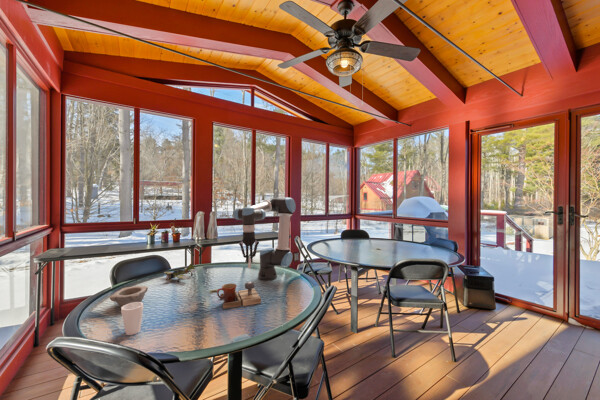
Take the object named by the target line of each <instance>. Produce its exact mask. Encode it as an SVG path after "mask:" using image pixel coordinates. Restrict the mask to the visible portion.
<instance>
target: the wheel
mask: <svg viewBox="0 0 600 400" xmlns="http://www.w3.org/2000/svg"><path fill="white" fill-rule="evenodd" d="M244 288H245V289H244V290H248V289H255V282H254V281H247V282H245V283H244Z"/></svg>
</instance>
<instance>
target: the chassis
mask: <svg viewBox="0 0 600 400" xmlns="http://www.w3.org/2000/svg"><path fill="white" fill-rule="evenodd" d="M235 293H236V300H235V302H228V303H224V302H223V303H222V308H223V310H225V309H232V308H237V307H238V308H239V307H242V306H243V307H245V306H250V305H251V306H253V305H257V304H261V303H262V300H261V299H262V298H261V296H260V295H259V293H258V292H257V290H256V289H255V288H253V289H242V290H238V291H237V290H235ZM219 296H223V293H219ZM219 299H221V300H223V299H222V298H219Z"/></svg>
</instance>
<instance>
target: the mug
mask: <svg viewBox="0 0 600 400" xmlns="http://www.w3.org/2000/svg"><path fill="white" fill-rule="evenodd" d="M236 289H237V284H236V283H225V284H223V285H222V286H221V287H219V288H218V289H217V290H216V295H217V297H218V298H219V299H220V298H222V299H221V300H223V303H228V302H235V301H237V299H236V293H235V292H236V291H237V290H236ZM220 291H223V293H222V294H223V296H220V293H219V292H220Z"/></svg>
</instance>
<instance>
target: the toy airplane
mask: <svg viewBox="0 0 600 400" xmlns="http://www.w3.org/2000/svg"><path fill="white" fill-rule="evenodd" d="M196 271H197V269H196V268H195V266H194V264H193V263H190V264H189V265H188V267H184V269H175V270H173V271H164V272H163V274H165V275H166V276H165V281H170V282H171V281H172V279H175V278H177V280H176V281H177V283H180V282H181V281H180V279H183V280H189V279H190V277H189V276H187V275H188V274H189V275H190V276H193V275H194V274H193V272H196Z"/></svg>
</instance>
